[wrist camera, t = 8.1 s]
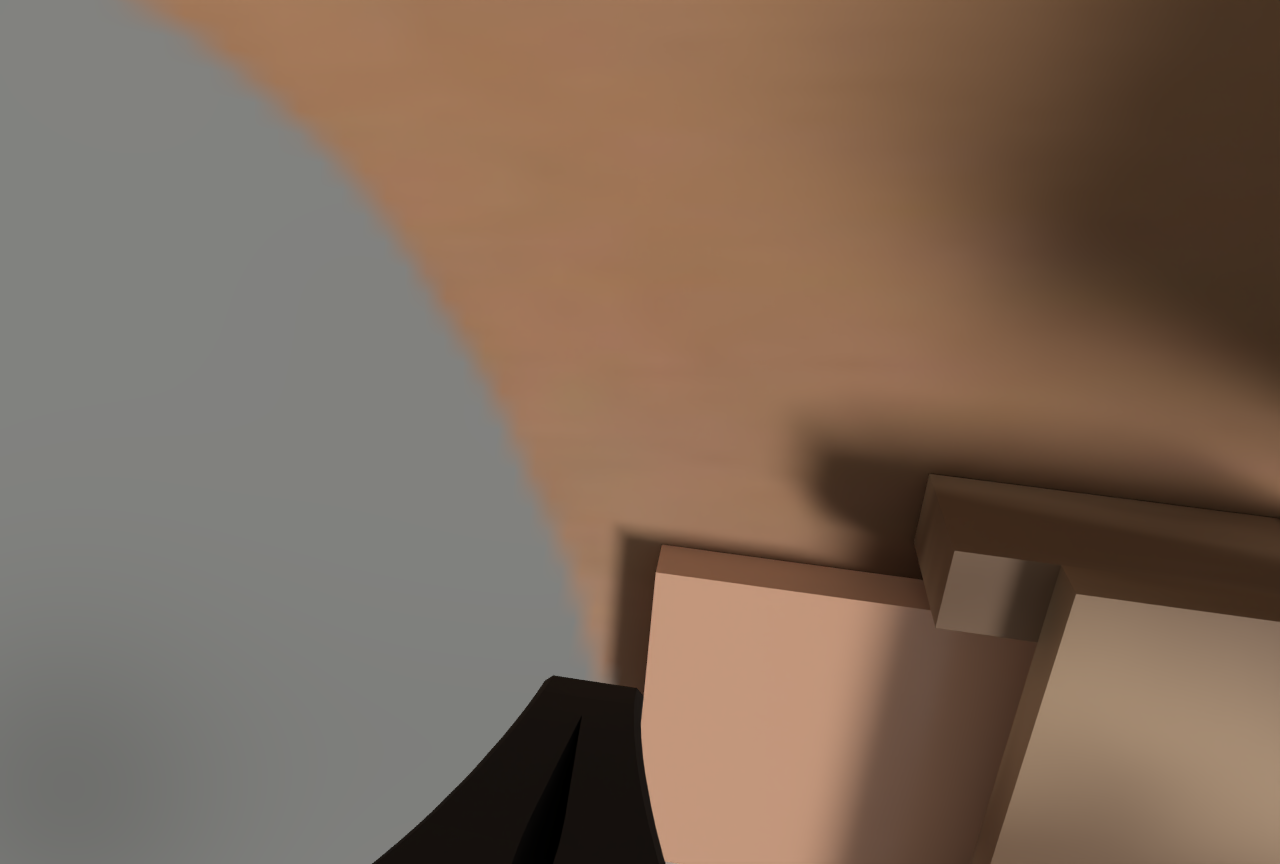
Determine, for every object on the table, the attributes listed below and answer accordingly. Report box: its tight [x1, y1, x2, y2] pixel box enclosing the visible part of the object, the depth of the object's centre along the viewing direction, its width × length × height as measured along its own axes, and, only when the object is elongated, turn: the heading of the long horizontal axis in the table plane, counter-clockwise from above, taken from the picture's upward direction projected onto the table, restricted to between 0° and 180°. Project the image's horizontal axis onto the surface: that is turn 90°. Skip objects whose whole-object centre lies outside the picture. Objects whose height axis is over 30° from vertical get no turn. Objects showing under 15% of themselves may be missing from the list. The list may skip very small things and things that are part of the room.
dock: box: [914, 474, 1280, 864], centre depth 22 cm, size 15×9×4 cm, turn 175°
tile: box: [641, 545, 1038, 864], centre depth 24 cm, size 9×12×2 cm
